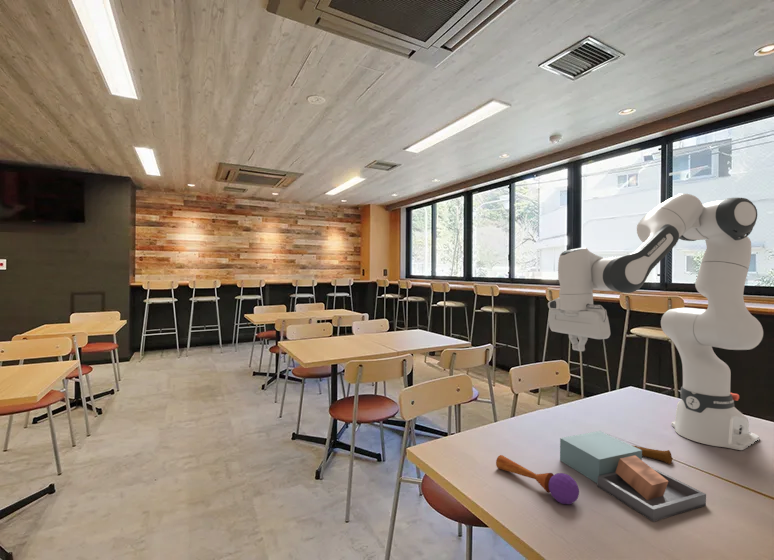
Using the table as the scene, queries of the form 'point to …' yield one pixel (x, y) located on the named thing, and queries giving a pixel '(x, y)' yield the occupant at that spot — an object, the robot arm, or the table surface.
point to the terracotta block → (641, 477)
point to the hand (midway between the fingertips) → (578, 350)
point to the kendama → (545, 480)
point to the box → (670, 504)
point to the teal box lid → (595, 453)
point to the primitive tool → (656, 454)
